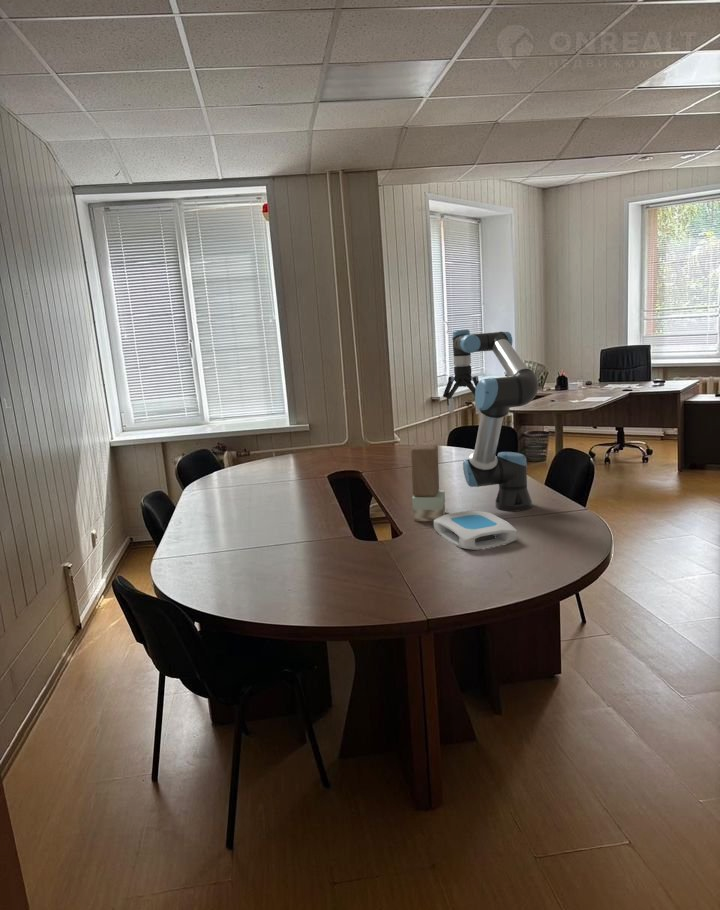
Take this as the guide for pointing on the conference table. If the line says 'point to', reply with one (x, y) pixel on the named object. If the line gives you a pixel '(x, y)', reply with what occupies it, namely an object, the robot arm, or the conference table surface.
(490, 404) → the robot arm
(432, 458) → the block
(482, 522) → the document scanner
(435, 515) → the tower lower slab
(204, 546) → the conference table surface
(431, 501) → the tower upper slab
